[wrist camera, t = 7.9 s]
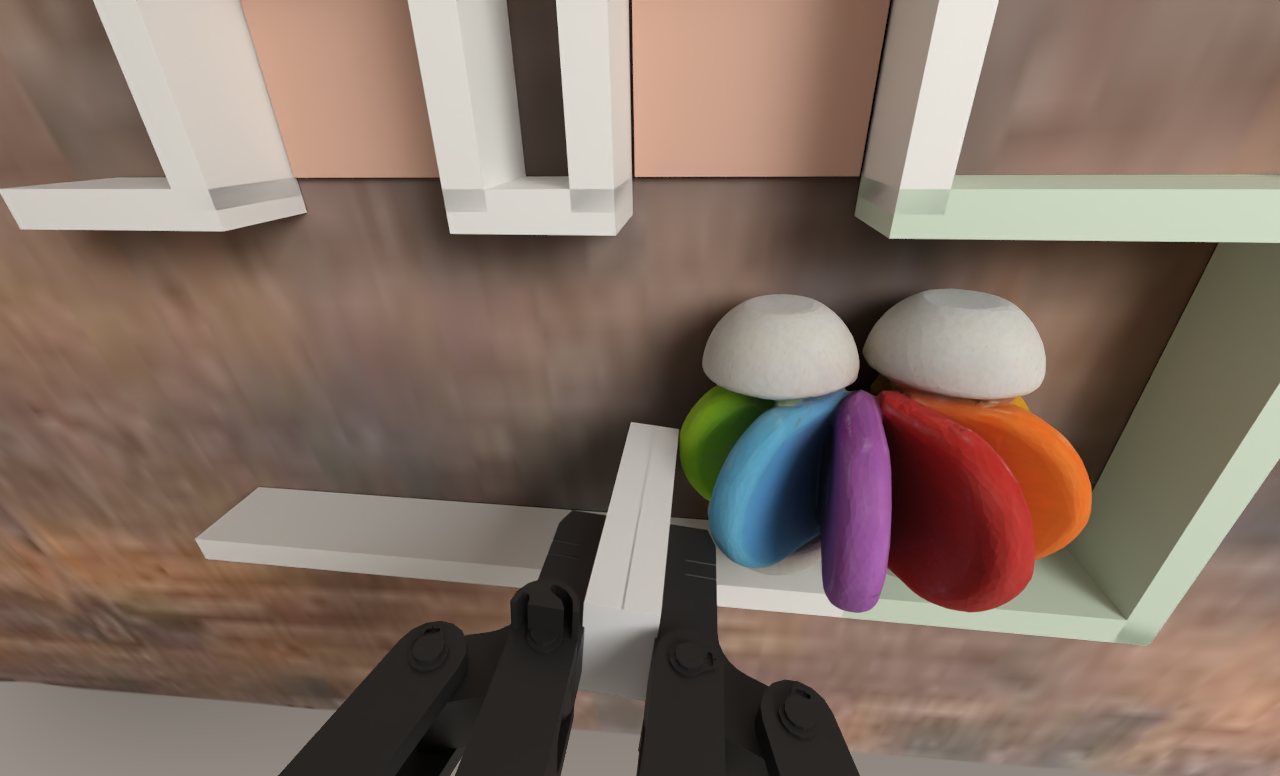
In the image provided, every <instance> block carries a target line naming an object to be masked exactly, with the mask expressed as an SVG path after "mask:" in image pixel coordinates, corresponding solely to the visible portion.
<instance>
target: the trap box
mask: <svg viewBox="0 0 1280 776" xmlns="http://www.w3.org/2000/svg"><path fill="white" fill-rule="evenodd" d="M93 1H94V4H95V6H96V9H97V11H98V14H99V16H100V18H101V21H102V23H103V26H104V28H105V30H106V33H107V35H108V38H109V40H110V43H111V45H112V47H113V50H114V52H115V55H116V57H117V59H118V62H119V64H120V67H121V69H122V71H123V74H124V76H125V79H126V81H127V84H128V86H129V88H130V91H131V93H132V96H133V98H134V100H135V103H136V105H137V108H138V110H139V113H140V115H141V117H142V120H143V122H144V125H145V127H146V129H147V132H148V134H149V137H150V139H151V142H152V144H153V146H154V149H155V151H156V154H157V156H158V158H159V161H160V163H161V166H162V168H163V170H164V173H165V175H166V177H149V178H108V179H98V180H87V181H77V182H66V183H56V184H45V185H35V186H24V187H14V188H3V189H0V194H1V195H2V197H3V199H4V201H5V203H6V204H7V206H8V208H9V210H10V211H11V213H12V215H13V217H14V218H15V220H16V222H17V224H18V226H19V227H20V229H43V230H137V231H228V230H233V229H237V228H241V227H246V226H250V225H255V224H259V223H263V222H268V221H272V220H277V219H281V218H285V217H290V216H294V215H299V214H303V213H307V211H306V208H305V204H304V201H303V198H302V195H301V191H300V188H299V185H298V181H297V178H402V177H440V181H441V186H442V192H443V197H444V203H445V208H446V214H447V219H448V225H449V230H450V234H509V235H602V236H616V234H617V233H618V232H619V231H620V230H621V228H622V227H623V226H624V225H625V224H626V222H627V221H628V220H629V219H630V217H631V216H632V215H633V193H632V139H631V86H630V33H629V0H556V7H557V21H558V35H559V49H560V63H561V76H562V90H563V104H564V118H565V132H566V145H567V159H568V173H569V176H527V177H526V174H525V165H524V156H523V147H522V137H521V128H520V119H519V110H518V101H517V91H516V82H515V73H514V64H513V55H512V46H511V36H510V27H509V18H508V9H507V0H93ZM998 1H999V0H892V5H891V10H890V16H889V22H888V27H887V33H886V39H885V44H884V50H883V56H882V62H881V67H880V73H879V79H878V84H877V90H876V96H875V101H874V107H873V113H872V119H871V124H870V130H869V136H868V141H867V147H866V153H865V158H864V164H863V170H862V175H861V181H860V187H859V193H858V198H857V204H856V210H855V215H854V216H855V217H857V218H858V219H860V220H862V221H863V222H865V223H866V224H868V225H869V226H871V227H872V228H874V229H875V230H877V231H878V232H880V233H881V234H883V235H884V236H886V237H887V238H889V239H974V240H1067V241H1160V242H1219V243H1218V245H1217V247H1216V249H1215V251H1214V253H1213V255H1212V257H1211V259H1210V261H1209V263H1208V265H1207V267H1206V269H1205V271H1204V273H1203V275H1202V277H1201V279H1200V281H1199V283H1198V285H1197V287H1196V289H1195V291H1194V293H1193V295H1192V297H1191V299H1190V301H1189V302H1188V304H1187V306H1186V308H1185V310H1184V312H1183V314H1182V316H1181V318H1180V320H1179V322H1178V324H1177V326H1176V328H1175V330H1174V332H1173V334H1172V336H1171V338H1170V340H1169V342H1168V344H1167V346H1166V348H1165V350H1164V352H1163V354H1162V356H1161V358H1160V360H1159V362H1158V364H1157V366H1156V368H1155V370H1154V371H1153V373H1152V375H1151V377H1150V379H1149V381H1148V383H1147V385H1146V387H1145V389H1144V391H1143V393H1142V395H1141V397H1140V399H1139V401H1138V403H1137V405H1136V407H1135V409H1134V411H1133V413H1132V415H1131V417H1130V419H1129V421H1128V423H1127V425H1126V427H1125V429H1124V431H1123V433H1122V435H1121V437H1120V438H1119V440H1118V442H1117V444H1116V446H1115V448H1114V450H1113V452H1112V454H1111V456H1110V458H1109V460H1108V462H1107V464H1106V466H1105V468H1104V470H1103V472H1102V474H1101V476H1100V478H1099V480H1098V482H1097V484H1096V486H1095V488H1094V490H1093V492H1092V505H1091V513H1090V517H1089V520H1088V522H1087V524H1086V525H1085V527H1084V528H1083V530H1082V531H1081V532H1080V534H1079V535H1078V536H1077V537H1076V538H1075V539H1074V540H1072V541H1071V542H1070V543H1069V544H1068V545H1066V546H1065V547H1063V548H1062V549H1060V550H1058V551H1056V552H1054V553H1052V554H1050V555H1048V556H1046V557H1043V558H1040V559H1037V560H1035V563H1034V572H1033V575H1032V579H1031V580H1030V582H1029V583H1028V585H1027V586H1026V587H1025V589H1024V590H1023V591H1022V592H1021V593H1020V594H1019V595H1018V596H1016V597H1015V598H1014V599H1012V600H1011V601H1009V602H1007V603H1006V604H1004V605H1002V606H1000V607H997V608H994V609H991V610H987V611H982V612H970V613H969V612H963V611H956V610H951V609H947V608H944V607H941V606H938V605H936V604H933V603H931V602H928V601H927V600H925V599H923V598H921V597H920V596H918V595H917V594H915V593H914V592H913V591H912V590H910V589H909V588H908V587H907V586H906V585H905V584H904V583H903V582H902V581H901V580H900V579H899V578H896V577H893V576H890V575H888V574H886V577H885V581H884V585H883V588H882V591H881V594H880V597H879V600H878V602H877V604H876V605H875V606H874V607H873V608H872V609H871V610H869V611H866V612H861V613H854V612H848V611H844V610H841V609H839V608H837V607H835V606H834V605H833V604H831V603H830V601H829V600H828V598H827V596H826V595H825V592H824V588H823V582H822V564H821V560H820V561H819V562H817V563H816V564H815V565H813V566H811V567H810V568H808V569H805V570H803V571H801V572H797V573H794V574H789V575H768V574H763V573H759V572H756V571H753V570H750V569H748V568H746V567H744V566H741V565H739V564H736V563H735V562H733V561H731V560H730V559H729V558H727V557H726V556H725V555H724V554H723V553H722V552H721V550H720V549H719V548H718V546H717V545H716V543H715V541H714V539H713V537H712V535H711V531H710V527H709V520H702V519H688V518H674V517H670V524H673V525H679V526H686V527H692V528H698V529H705V530H708V532H709V534H710V536H711V538H712V540H713V542H714V543H715V545H716V581H717V606H723V607H734V608H745V609H755V610H766V611H777V612H788V613H799V614H810V615H820V616H831V617H842V618H853V619H864V620H875V621H886V622H896V623H907V624H918V625H929V626H940V627H951V628H962V629H972V630H983V631H994V632H1005V633H1016V634H1027V635H1038V636H1048V637H1059V638H1070V639H1081V640H1092V641H1103V642H1114V643H1124V644H1135V645H1146V646H1149V645H1150V644H1151V642H1152V641H1153V639H1154V638H1155V636H1156V635H1157V634H1158V632H1159V631H1160V629H1161V628H1162V626H1163V625H1164V624H1165V622H1166V621H1167V619H1168V618H1169V616H1170V615H1171V613H1172V612H1173V611H1174V609H1175V608H1176V606H1177V605H1178V603H1179V602H1180V601H1181V599H1182V598H1183V596H1184V595H1185V593H1186V592H1187V591H1188V589H1189V588H1190V586H1191V585H1192V583H1193V582H1194V580H1195V579H1196V578H1197V576H1198V575H1199V573H1200V572H1201V570H1202V569H1203V568H1204V566H1205V565H1206V563H1207V562H1208V560H1209V559H1210V558H1211V556H1212V555H1213V553H1214V552H1215V550H1216V549H1217V547H1218V546H1219V545H1220V543H1221V542H1222V540H1223V539H1224V537H1225V536H1226V535H1227V533H1228V532H1229V530H1230V529H1231V527H1232V526H1233V525H1234V523H1235V522H1236V520H1237V519H1238V517H1239V516H1240V514H1241V513H1242V512H1243V510H1244V509H1245V507H1246V506H1247V504H1248V503H1249V502H1250V500H1251V499H1252V497H1253V496H1254V494H1255V493H1256V492H1257V490H1258V489H1259V487H1260V486H1261V484H1262V483H1263V481H1264V480H1265V479H1266V477H1267V476H1268V474H1269V473H1270V471H1271V470H1272V469H1273V467H1274V466H1275V464H1276V463H1277V461H1278V460H1279V459H1280V175H954V174H955V171H956V167H957V163H958V159H959V155H960V151H961V147H962V143H963V139H964V135H965V131H966V127H967V123H968V119H969V115H970V112H971V108H972V104H973V100H974V96H975V92H976V88H977V84H978V80H979V76H980V72H981V68H982V64H983V60H984V56H985V53H986V49H987V45H988V41H989V37H990V33H991V29H992V25H993V21H994V17H995V13H996V9H997V5H998ZM889 4H890V0H632V33H633V93H634V154H635V177H805V176H860V170H861V165H862V159H863V153H864V147H865V142H866V136H867V130H868V124H869V119H870V113H871V107H872V101H873V96H874V90H875V84H876V78H877V73H878V67H879V61H880V55H881V50H882V44H883V38H884V32H885V27H886V21H887V15H888V9H889ZM571 511H572V510H565V509H551V508H538V507H524V506H511V505H497V504H483V503H470V502H456V501H442V500H429V499H415V498H401V497H388V496H374V495H361V494H347V493H333V492H320V491H306V490H292V489H279V488H265V487H258V488H257V489H256V490H255V491H253V492H252V493H251V494H250V495H248V496H247V497H246V498H245V499H243V500H242V501H241V502H240V503H239V504H237V505H236V506H235V507H234V508H232V509H231V510H230V511H229V512H227V513H226V514H225V515H224V516H223V517H221V518H220V519H219V520H218V521H216V522H215V523H214V524H213V525H211V526H210V527H209V528H208V529H206V530H205V531H204V532H203V533H202V534H200V535H199V536H198V537H197V538H195V540H196V542H197V544H198V545H199V547H200V549H201V551H202V553H203V554H204V556H205V558H206V559H213V560H224V561H234V562H245V563H256V564H267V565H278V566H289V567H300V568H310V569H321V570H332V571H343V572H354V573H365V574H375V575H386V576H397V577H408V578H419V579H430V580H441V581H451V582H462V583H473V584H484V585H495V586H506V587H517V588H522V587H523V586H525V585H526V584H527V583H530V582H533V581H536V580H538V578H539V575H540V573H541V570H542V567H543V565H544V562H545V559H546V557H547V555H548V551H549V549H550V546H551V543H552V542H553V538H554V535H555V533H556V530H557V527H558V525H559V522H560V521H561V520H563V519H564V518H565V517H566V516H567V515H568V514H569V513H570V512H571ZM575 511H579V510H575ZM582 512H588V513H595V514H601V515H607V513H606V512H592V511H582Z"/></svg>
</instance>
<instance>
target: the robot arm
mask: <svg viewBox="0 0 1280 776" xmlns="http://www.w3.org/2000/svg"><path fill="white" fill-rule="evenodd" d="M678 434H679V429H675V428H668V427H661V426H655V425H648V424H641V423H634V422H631V424H630V428H629V432H628V435H627V439H626V443H625V447H624V451H623V455H622V458H621V462H620V466H619V470H618V474H617V478H616V482H615V485H614V489H613V493H612V497H611V501H610V505H609V508H608V512H607V515H601V514H595V513H588V512H582V511H575V510H572V511H571V512H570V513H569V514H568V515H567V516H566V517H565V518H564V519H563V520H561V521H560V522H559V525H558V527H557V530H556V533H555V535H554V538H553V542H552V543H551V546H550V549H549V551H548V555H547V557H546V559H545V562H544V565H543V567H542V570H541V573H540V575H539V578H538V580H536V581H533V582H530V583H527V584H526V585H525V586H523V587H522V588H520V589H519V590H518V591H517V592H516V594H515V595H514V596H513V598H512V599H511V601H510V606H511V624H510V625H509V626H507V627H504V628H502V629H500V630H496V631H492V632H487V633H480V634H473V635H465V636H464V634H463V632H462V630H461V629H459V628H458V627H457V626H455V625H454V624H452V623H447V622H442V621H438V622H430V623H425V624H423V625H421V626H419V627H416V628H414V629H412V630H411V631H410V632H409V633H407V634H406V635H405V636H404V637H403V638H401V639H400V641H399V642H398V643H397V644H396V645H395V646H394V647H393V648H392V649H391V651H390V652H389V653H388V654H387V655H386V656H385V657H384V658H383V659H382V661H381V662H380V663H379V664H378V665H377V666H376V667H375V668H374V669H373V671H372V672H371V673H370V674H369V675H368V676H367V677H366V678H365V680H364V681H363V682H362V683H361V684H360V685H359V686H358V687H357V688H356V690H355V691H354V692H353V693H352V694H351V695H350V696H349V697H348V698H347V700H346V701H345V702H344V703H343V704H342V705H341V706H340V707H339V708H338V710H337V711H336V712H335V713H334V714H333V715H332V716H331V717H330V719H329V720H328V721H327V722H326V723H325V724H324V725H323V726H322V727H321V729H320V730H319V731H318V732H317V733H316V734H315V735H314V736H313V737H312V739H311V740H310V741H309V742H308V743H307V744H306V745H305V746H304V747H303V749H302V750H301V751H300V752H299V753H298V754H297V755H296V756H295V758H294V759H293V760H292V761H291V762H290V763H289V764H288V765H287V767H286V768H285V769H284V770H283V771H282V772H281V773H280V774H279V775H278V776H450V775H451V773H452V771H453V770H454V768H455V767H456V765H457V763H458V762H459V761H460V759H461V757H462V759H461V762H460V764H459V767H458V770H457V772H456V774H455V776H561V771H562V767H563V762H564V758H565V754H566V749H567V745H568V740H569V735H570V731H571V727H572V723H573V717H574V703H575V699H576V694H577V690H578V686H579V689H580V690H586V691H592V692H597V693H603V694H608V695H614V696H619V697H625V698H630V699H636V700H642V701H645V710H644V719H643V725H642V731H641V737H640V743H639V749H638V751H639V758H638V767H637V776H860V775H859V773H858V770H857V768H856V766H855V763H854V761H853V759H852V757H851V754H850V752H849V750H848V747H847V745H846V743H845V740H844V738H843V736H842V733H841V731H840V729H839V726H838V724H837V722H836V719H835V717H834V715H833V713H832V711H831V710H830V708H829V706H828V705H827V703H826V702H825V700H824V699H823V698H822V697H821V696H820V695H819V694H818V693H817V692H815V691H814V690H813V689H812V688H810V687H808V686H806V685H804V684H802V683H800V682H798V681H791V680H782V681H778V682H775V683H772V684H771V685H770V686H767V685H765V684H763V683H761V682H759V681H757V680H755V679H753V678H751V677H749V676H747V675H745V674H744V673H742V672H741V671H739V670H738V669H736V668H735V667H734V666H733V665H732V664H731V663H730V662H729V661H728V659H727V658H726V656H725V655H724V654H723V652H722V649H721V647H720V645H719V641H718V634H717V581H716V545H715V543H714V542H713V540H712V538H711V536H710V534H709V532H708V530H705V529H698V528H692V527H686V526H679V525H673V524H670V517H671V507H672V496H673V486H674V476H675V465H676V455H677V445H678Z"/></svg>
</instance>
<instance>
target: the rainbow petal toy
mask: <svg viewBox="0 0 1280 776" xmlns="http://www.w3.org/2000/svg"><path fill="white" fill-rule="evenodd" d="M862 353H863V356H864V358H865V360H866V361H867V363H868V364H869V366H871V367H872V368H873V369H875V370H877V371H878V372H879V373H880V374H879V375H878V377H877V379H876V380H875V381H874V382H873V383H872V385H871V389H870V394H869V393H868V392H865V391H863V390H858V391H847V390H846V389H845V387H847V386H848V385H850V384H852V383H854V382H855V380H856V379H857V377H858V371H859V355H858V351H857V347H856V344H855V342H854V339H853V336H852V334H851V333H850V331H849V329H848V328H847V326H846V325H845V324H844V322H843V321H842V320H841V319H840V317H839V316H838V315H837V314H836V313H835V312H833V311H832V310H831V309H829V308H828V307H827V306H825V305H823V304H822V303H820V302H818V301H816V300H814V299H811V298H808V297H803V296H799V295H789V294H773V295H764V296H758V297H754V298H751V299H748V300H746V301H744V302H742V303H740V304H739V305H737V306H736V307H734V308H733V309H731V310H730V311H729V312H728V313H727V314H726V315H725V316H724V317H723V318H722V319H721V320H720V321H719V322H718V324H717V325H716V326H715V328H714V329H713V331H712V333H711V335H710V337H709V339H708V341H707V344H706V347H705V350H704V355H703V362H702V367H703V370H704V372H705V374H706V375H707V376H708V377H709V378H710V379H711V380H712V381H713V382H715V383H716V384H717V385H716V386H715V387H713V388H712V389H711V390H709V391H708V392H707V393H706V394H704V395H703V397H702V398H701V399H700V400H699V401H698V402H697V403H696V404H695V405H694V407H693V408H692V409H691V411H690V412H689V414H688V415H687V417H686V419H685V421H684V423H683V425H682V428H681V431H680V436H679V455H680V461H681V466H682V468H683V471H684V473H685V475H686V477H687V479H688V481H689V482H690V484H691V485H692V486H693V487H694V488H695V490H696V491H697V492H698V493H699V494H700V495H701V496H703V497H704V498H705V499H707V500H708V501H709V503H708V518H709V527H710V531H711V535H712V537H713V539H714V541H715V543H716V545H717V546H718V548H719V549H720V550H721V552H722V553H723V554H724V555H725V556H726V557H727V558H729V559H730V560H731V561H733V562H735V563H736V564H739V565H741V566H744V567H746V568H748V569H750V570H753V571H756V572H759V573H763V574H768V575H789V574H794V573H797V572H801V571H803V570H805V569H808V568H810V567H811V566H813V565H815V564H816V563H817V562H819V561H820V560H821V564H822V582H823V588H824V592H825V595H826V596H827V598H828V600H829V601H830V603H831V604H833V605H834V606H835V607H837V608H839V609H841V610H844V611H848V612H854V613H861V612H866V611H869V610H871V609H872V608H873V607H874V606H875V605H876V604H877V602H878V600H879V597H880V594H881V591H882V588H883V585H884V581H885V577H886V574H888V575H890V576H893V577H896V578H899V579H900V580H901V581H902V582H903V583H904V584H905V585H906V586H907V587H908V588H909V589H910V590H912V591H913V592H914V593H915V594H917V595H918V596H920V597H921V598H923V599H925V600H927V601H928V602H931V603H933V604H936V605H938V606H941V607H944V608H947V609H951V610H956V611H963V612H969V613H970V612H982V611H987V610H991V609H994V608H997V607H1000V606H1002V605H1004V604H1006V603H1007V602H1009V601H1011V600H1012V599H1014V598H1015V597H1016V596H1018V595H1019V594H1020V593H1021V592H1022V591H1023V590H1024V589H1025V587H1026V586H1027V585H1028V583H1029V582H1030V580H1031V579H1032V575H1033V572H1034V563H1035V560H1037V559H1040V558H1043V557H1046V556H1048V555H1050V554H1052V553H1054V552H1056V551H1058V550H1060V549H1062V548H1063V547H1065V546H1066V545H1068V544H1069V543H1070V542H1071V541H1072V540H1074V539H1075V538H1076V537H1077V536H1078V535H1079V534H1080V532H1081V531H1082V530H1083V528H1084V527H1085V525H1086V524H1087V522H1088V520H1089V517H1090V513H1091V505H1092V490H1091V483H1090V480H1089V476H1088V474H1087V471H1086V469H1085V466H1084V464H1083V461H1082V460H1081V458H1080V456H1079V455H1078V453H1077V452H1076V450H1075V449H1074V448H1073V446H1072V445H1071V444H1070V442H1069V441H1068V440H1067V439H1066V438H1065V437H1064V436H1063V435H1062V434H1061V433H1060V432H1059V431H1058V430H1056V429H1055V428H1054V427H1052V426H1051V425H1049V424H1048V423H1047V422H1045V421H1044V420H1042V419H1041V418H1040V417H1038V416H1036V415H1035V414H1033V413H1031V412H1030V411H1029V408H1028V407H1027V405H1026V403H1025V402H1024V400H1023V399H1022V398H1021V397H1020V396H1023V395H1027V394H1029V393H1031V392H1033V391H1034V390H1036V389H1037V388H1038V387H1039V386H1040V385H1041V383H1042V381H1043V379H1044V377H1045V371H1046V357H1045V351H1044V346H1043V342H1042V340H1041V338H1040V335H1039V333H1038V331H1037V329H1036V328H1035V326H1034V325H1033V323H1032V322H1031V320H1030V319H1029V318H1028V317H1027V316H1026V315H1025V314H1024V312H1023V311H1022V310H1020V309H1019V308H1018V307H1017V306H1015V305H1014V304H1013V303H1011V302H1009V301H1007V300H1005V299H1003V298H1001V297H998V296H995V295H992V294H988V293H982V292H977V291H970V290H961V289H933V290H927V291H922V292H919V293H917V294H915V295H912V296H910V297H908V298H906V299H904V300H902V301H900V302H899V303H897V304H896V305H894V306H893V307H892V308H890V309H889V310H888V311H887V312H886V313H884V315H883V316H882V317H881V318H880V319H879V320H878V321H877V323H876V324H875V325H874V327H873V328H872V330H871V332H870V333H869V335H868V337H867V340H866V342H865V345H864V348H863V352H862Z"/></svg>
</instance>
